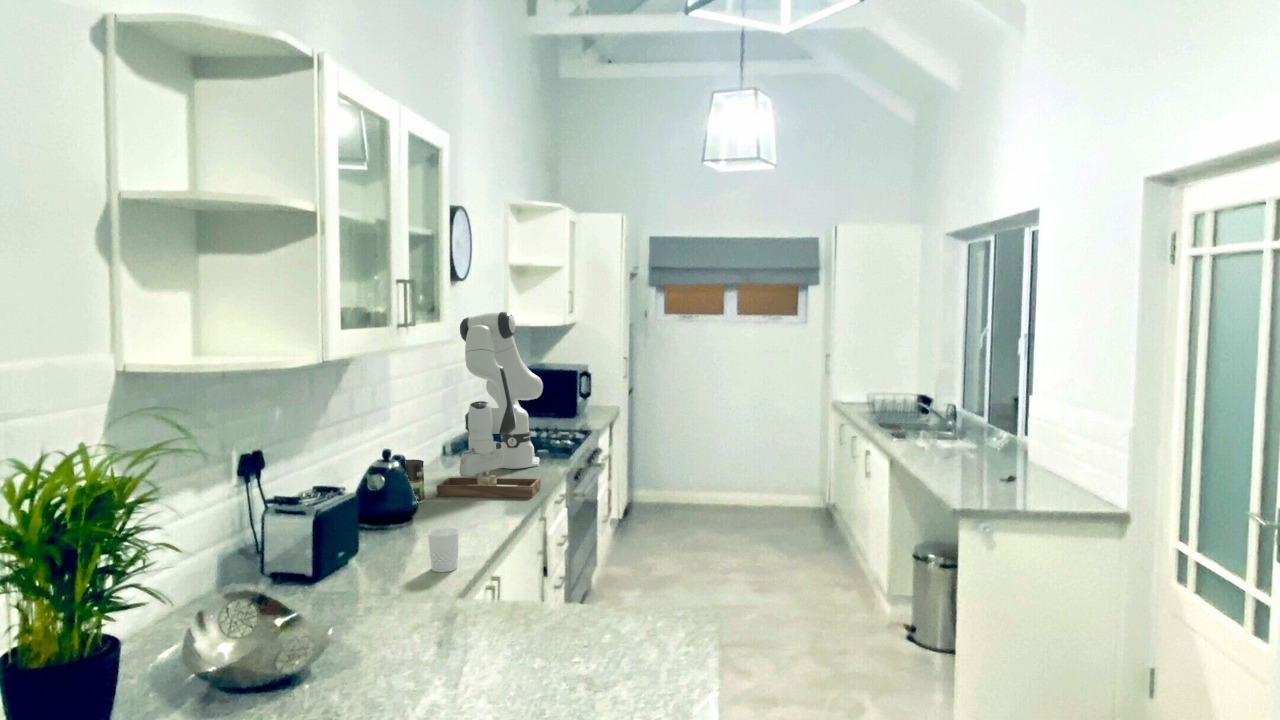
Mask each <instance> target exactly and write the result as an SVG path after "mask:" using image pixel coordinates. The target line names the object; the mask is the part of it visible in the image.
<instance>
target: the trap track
mask: <svg viewBox="0 0 1280 720" xmlns="http://www.w3.org/2000/svg"><path fill="white" fill-rule="evenodd" d="M496 478H497V477H496ZM540 491H541V478H511V477H509V478H502V477H501V478H499V477H498V478H497V486H479V485H478V480H477V479H476V477H447V478H446V479H444V480H443V481H441V482H440V483H438V484H436V497H439V498H440V497H444V498H447V497H448V498H449V497H451V498H453V497H454V498H457V497H458V498H506V497H517V498H516V499H524V498H526V499H527V498H528V499H532V498H534V497H535V496H536V495H537V494H538V493H539V492H540Z"/></svg>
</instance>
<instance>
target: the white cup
mask: <svg viewBox="0 0 1280 720" xmlns="http://www.w3.org/2000/svg"><path fill="white" fill-rule="evenodd" d="M427 534H428V535H427V536H428V537H427V538H428V549H429V557H430V566H431V570H432V571H433V572H435V573H449V572H452V571H455V570H457V569H458V557H459V536H460V535H459V529H457V528H453V527H441V528H434V529H432V530H430V531H428V533H427Z"/></svg>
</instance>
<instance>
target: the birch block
mask: <svg viewBox="0 0 1280 720" xmlns="http://www.w3.org/2000/svg"><path fill="white" fill-rule="evenodd" d="M479 486H497V475H493V474H488V475H484V476H481V477H479Z"/></svg>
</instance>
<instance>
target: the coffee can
mask: <svg viewBox="0 0 1280 720" xmlns="http://www.w3.org/2000/svg"><path fill="white" fill-rule="evenodd" d="M404 460H405V461H406V470H407V475H408V479H409V481H410V483H411V485H412V488H413V491H414V494H415V496H416V498H417V501H418V504H417V505H419V504H423V503H424V502H425V501H426V499H425V472H424V471H425V468H424V467H425V466H424V463H425V462H424V460H422V459H404Z"/></svg>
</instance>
